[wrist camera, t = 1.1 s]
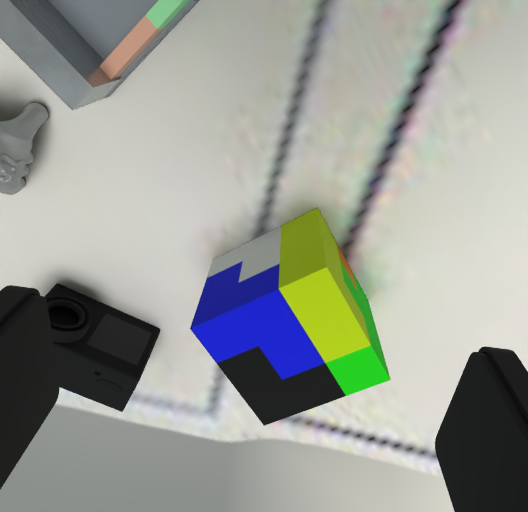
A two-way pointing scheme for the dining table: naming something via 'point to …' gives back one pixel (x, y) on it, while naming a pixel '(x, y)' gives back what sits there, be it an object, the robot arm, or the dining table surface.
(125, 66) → the grey metal rail
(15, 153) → the elephant statuette
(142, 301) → the dining table surface
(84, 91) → the grey angled bar
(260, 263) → the puzzle toy
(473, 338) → the dining table surface
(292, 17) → the dining table surface
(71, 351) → the digital camera
